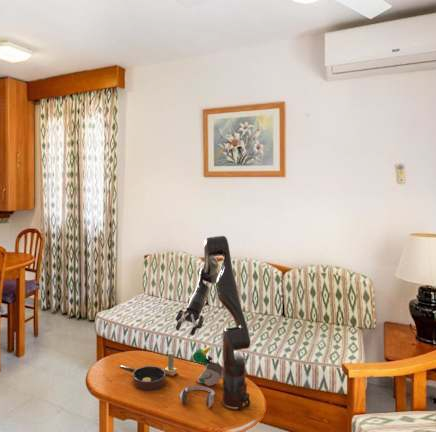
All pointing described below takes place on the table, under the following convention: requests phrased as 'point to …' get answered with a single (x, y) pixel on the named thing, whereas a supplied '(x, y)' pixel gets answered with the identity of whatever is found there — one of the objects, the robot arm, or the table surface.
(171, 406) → the table surface
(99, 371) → the table surface
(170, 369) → the green peg on base
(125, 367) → the pan handle
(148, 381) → the disc
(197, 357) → the toy
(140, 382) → the pan
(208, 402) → the headphones
